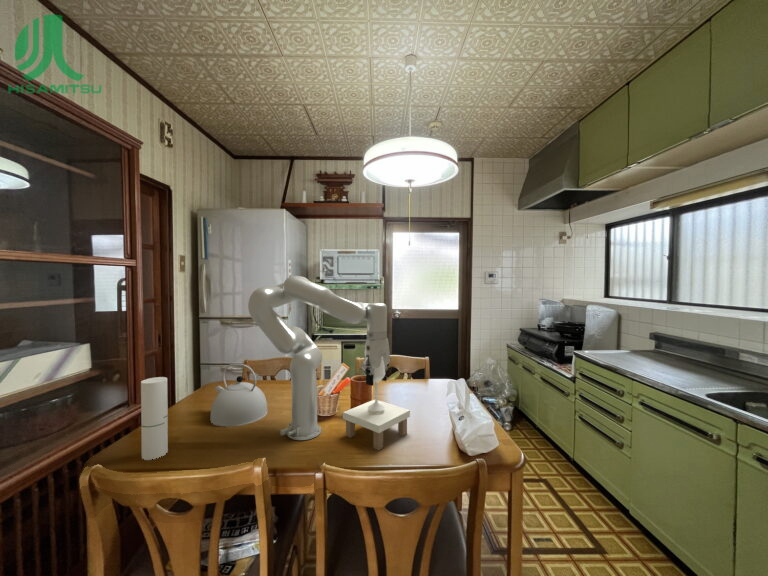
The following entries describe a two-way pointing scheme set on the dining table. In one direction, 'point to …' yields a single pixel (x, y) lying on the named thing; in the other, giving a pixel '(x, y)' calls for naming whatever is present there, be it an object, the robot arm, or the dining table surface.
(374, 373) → the champagne flute
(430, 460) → the dining table surface
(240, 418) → the kettle
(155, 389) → the cylindrical container
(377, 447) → the footstool
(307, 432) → the robot arm
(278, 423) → the dining table surface
